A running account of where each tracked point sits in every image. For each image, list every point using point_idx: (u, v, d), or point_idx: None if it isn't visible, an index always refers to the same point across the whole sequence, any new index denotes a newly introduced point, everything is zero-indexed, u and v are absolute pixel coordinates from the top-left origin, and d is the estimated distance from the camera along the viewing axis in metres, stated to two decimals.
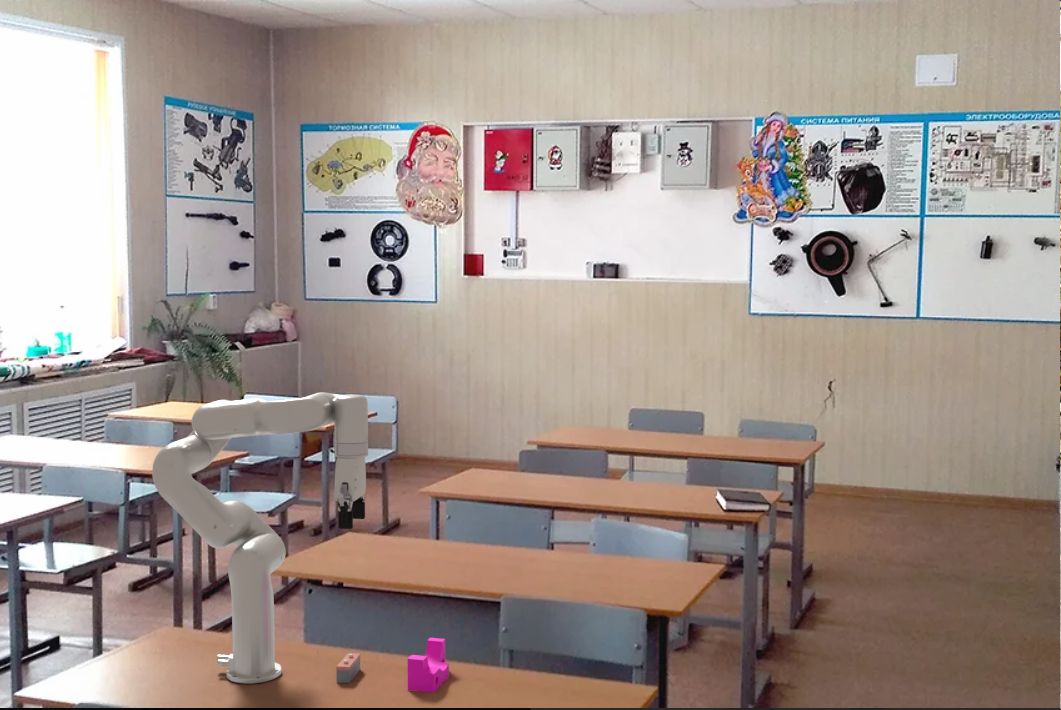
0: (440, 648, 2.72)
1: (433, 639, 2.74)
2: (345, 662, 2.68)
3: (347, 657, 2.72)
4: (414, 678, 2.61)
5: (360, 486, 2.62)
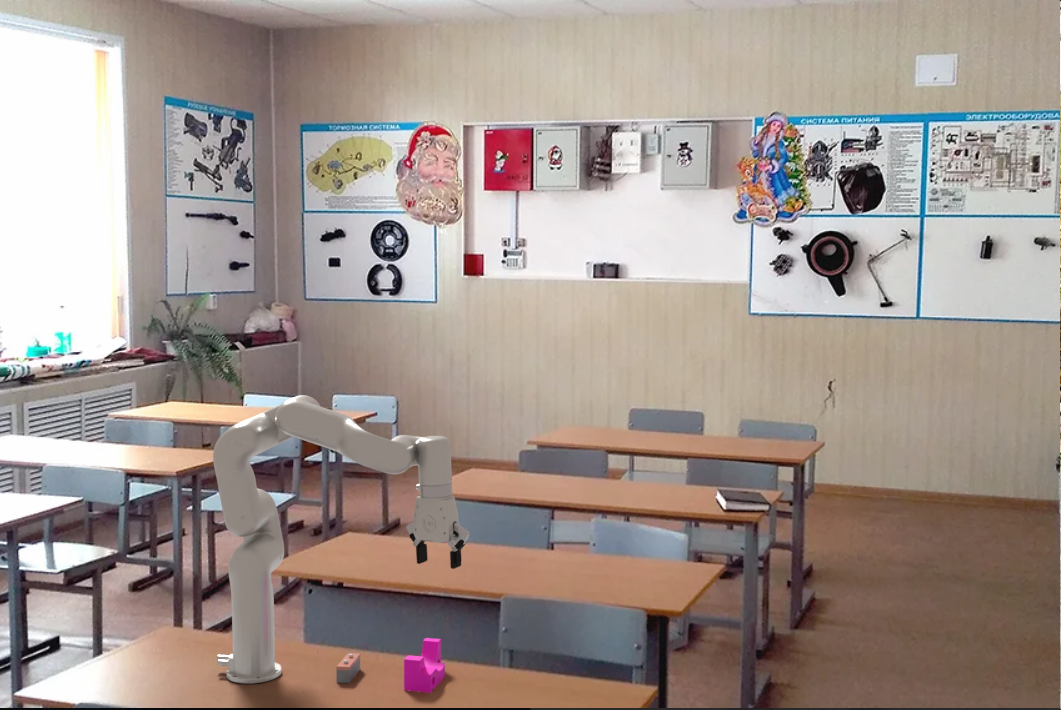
0: (436, 648, 2.72)
1: (429, 639, 2.74)
2: (345, 662, 2.68)
3: (347, 657, 2.72)
4: (411, 679, 2.61)
5: None
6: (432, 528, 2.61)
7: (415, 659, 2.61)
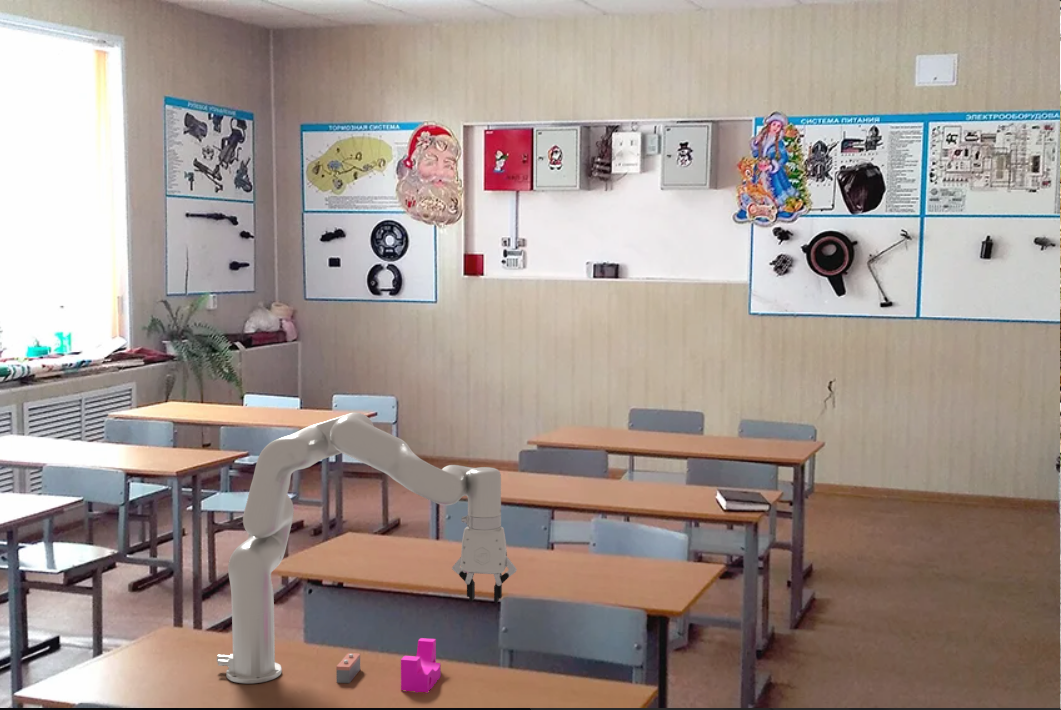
0: (431, 648, 2.72)
1: (424, 639, 2.74)
2: (345, 662, 2.68)
3: (347, 657, 2.72)
4: (407, 679, 2.61)
5: None
6: (485, 560, 2.61)
7: (412, 659, 2.61)
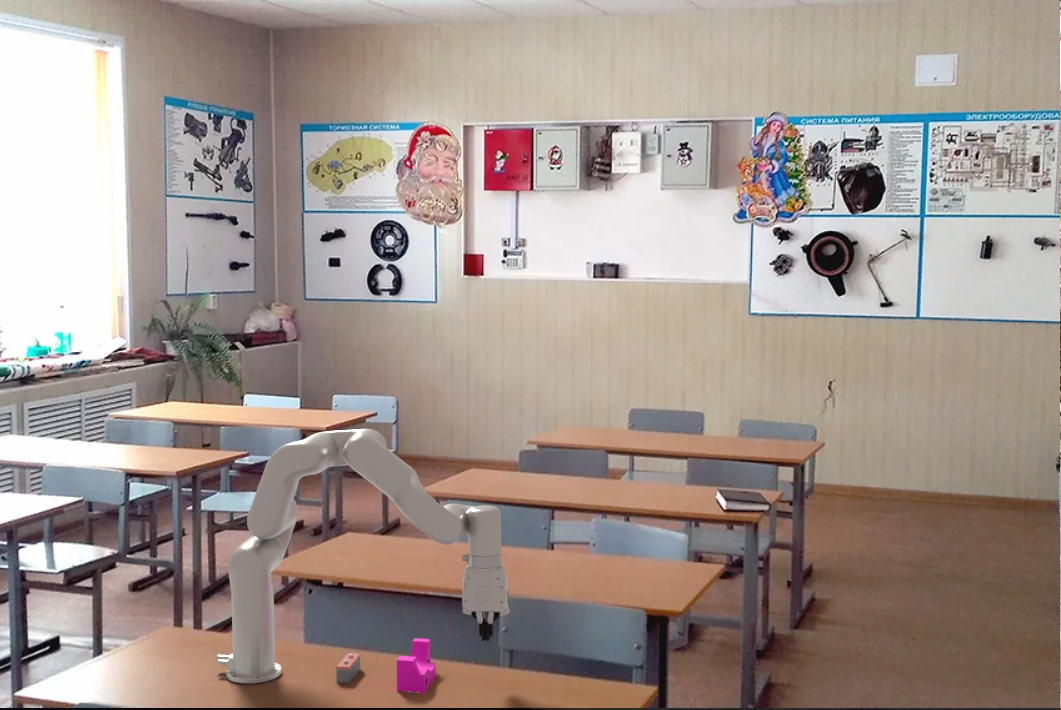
0: (426, 648, 2.72)
1: (418, 640, 2.74)
2: (345, 662, 2.68)
3: (347, 657, 2.72)
4: (403, 679, 2.60)
5: None
6: (486, 598, 2.62)
7: (408, 660, 2.60)
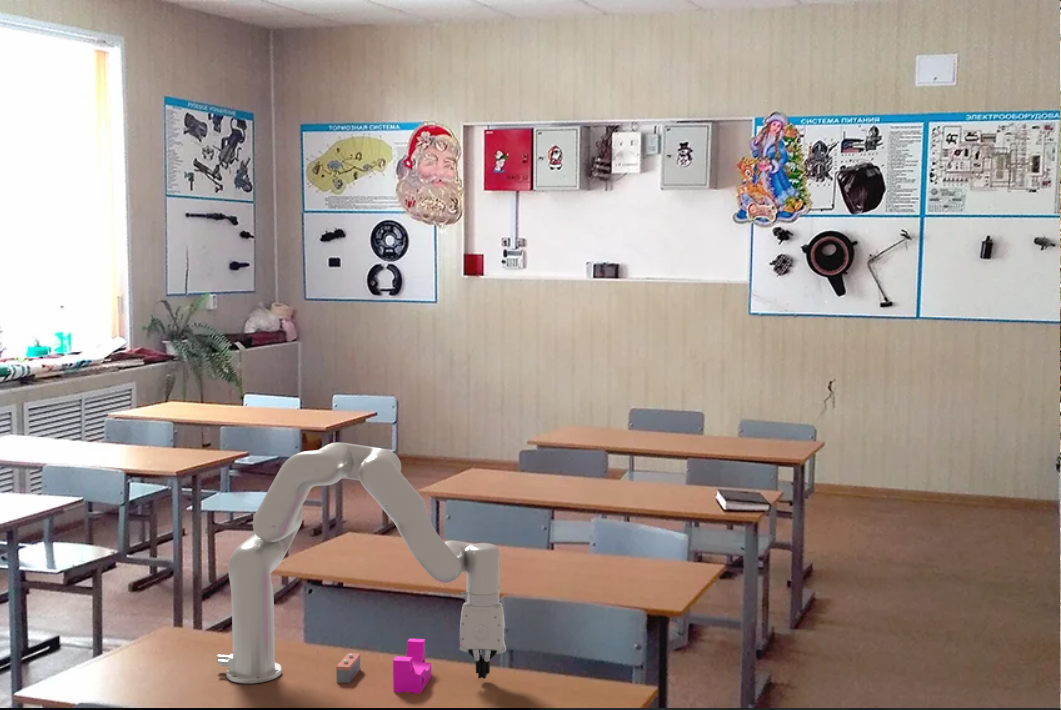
0: (421, 648, 2.72)
1: (413, 640, 2.74)
2: (345, 662, 2.68)
3: (347, 657, 2.72)
4: (400, 679, 2.60)
5: None
6: (483, 636, 2.63)
7: (404, 660, 2.60)
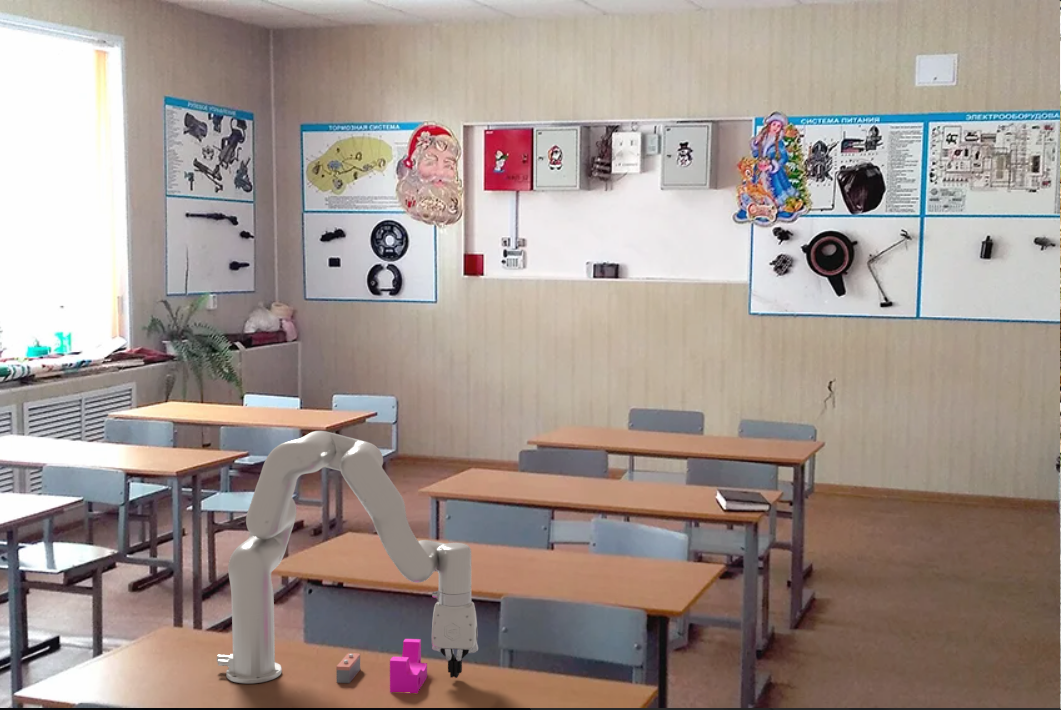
0: (417, 648, 2.72)
1: (409, 640, 2.73)
2: (345, 662, 2.68)
3: (347, 657, 2.72)
4: (397, 680, 2.60)
5: None
6: (455, 635, 2.64)
7: (401, 660, 2.60)
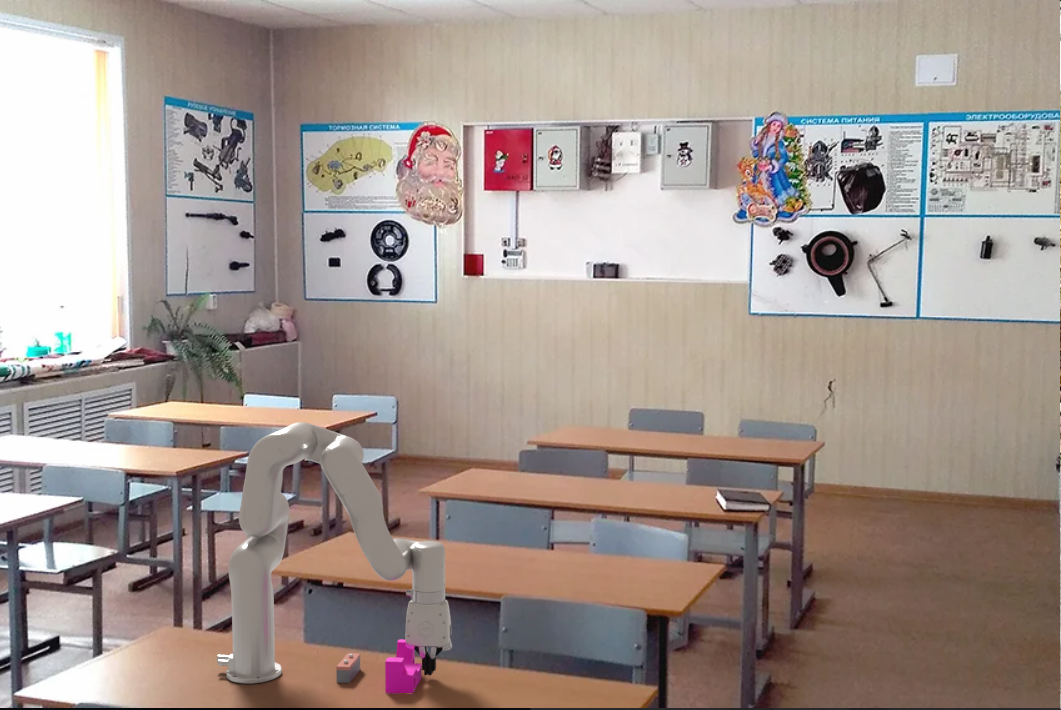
0: (411, 649, 2.72)
1: (403, 641, 2.73)
2: (345, 662, 2.68)
3: (347, 657, 2.72)
4: (392, 680, 2.60)
5: None
6: (429, 633, 2.65)
7: (396, 661, 2.60)
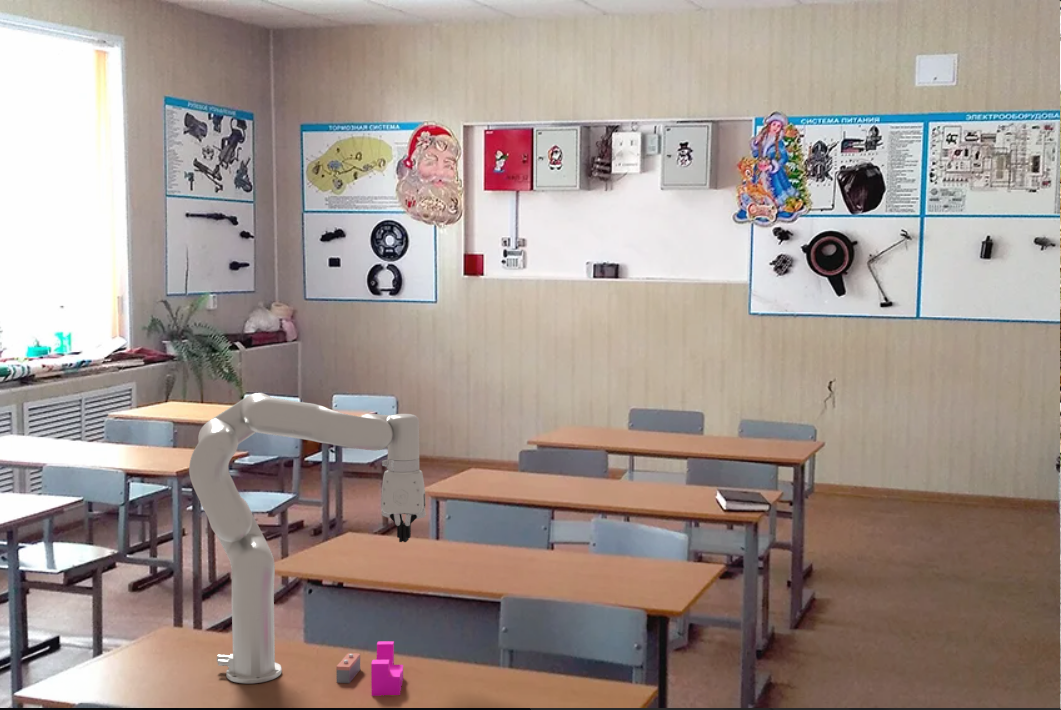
0: (391, 650, 2.71)
1: (382, 642, 2.72)
2: (345, 662, 2.68)
3: (347, 657, 2.72)
4: (378, 683, 2.58)
5: None
6: (403, 501, 2.76)
7: (383, 663, 2.58)
